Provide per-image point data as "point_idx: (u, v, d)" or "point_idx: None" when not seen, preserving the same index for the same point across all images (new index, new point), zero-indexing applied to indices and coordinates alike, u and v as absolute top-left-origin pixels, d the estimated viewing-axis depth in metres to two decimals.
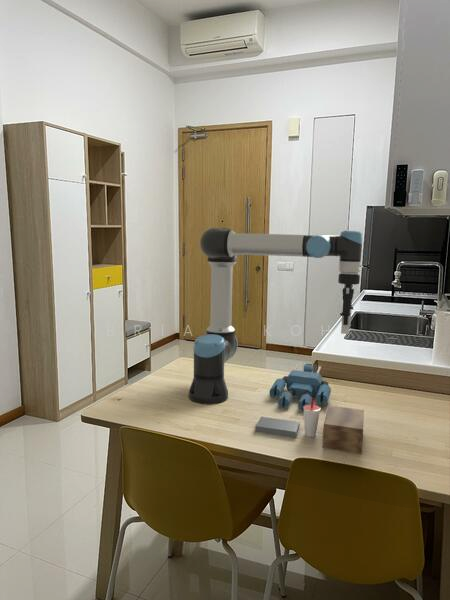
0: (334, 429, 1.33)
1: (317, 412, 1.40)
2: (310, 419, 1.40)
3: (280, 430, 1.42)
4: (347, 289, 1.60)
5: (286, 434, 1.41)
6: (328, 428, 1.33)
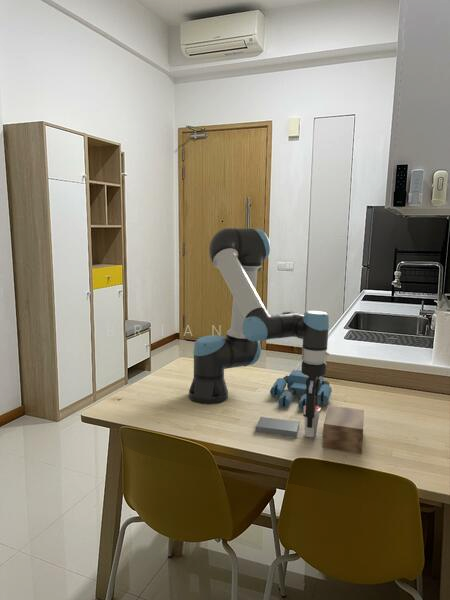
0: (334, 429, 1.33)
1: (317, 412, 1.40)
2: None
3: (280, 430, 1.42)
4: (310, 390, 1.35)
5: (286, 433, 1.42)
6: (328, 428, 1.33)
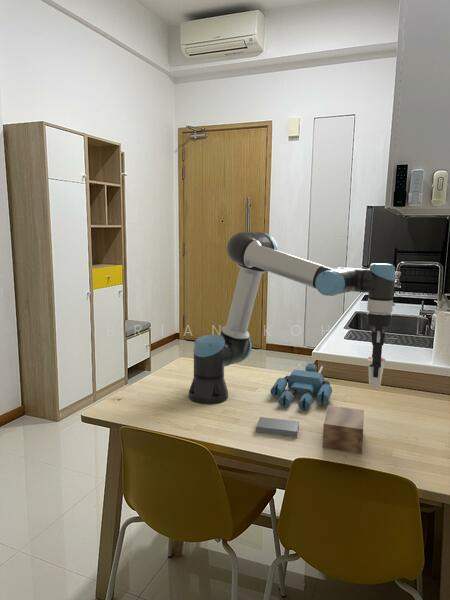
0: (334, 429, 1.33)
1: (382, 362, 1.43)
2: None
3: (281, 430, 1.42)
4: (378, 339, 1.37)
5: (287, 433, 1.42)
6: (328, 428, 1.33)
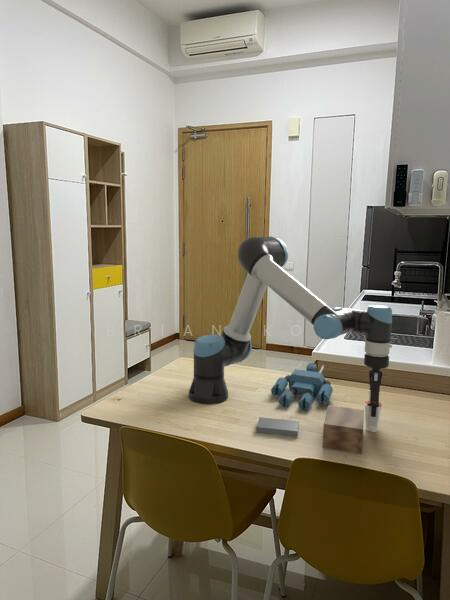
0: (334, 429, 1.33)
1: (379, 408, 1.45)
2: None
3: (281, 430, 1.42)
4: (376, 376, 1.39)
5: (287, 433, 1.42)
6: (328, 428, 1.33)
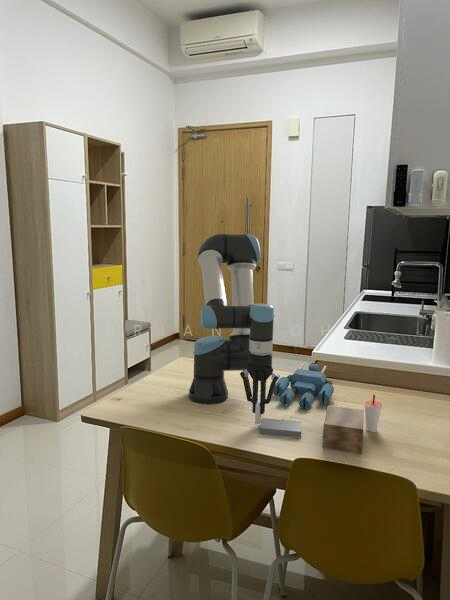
0: (334, 429, 1.33)
1: (379, 408, 1.45)
2: (372, 414, 1.45)
3: (285, 431, 1.42)
4: None
5: (291, 434, 1.41)
6: (328, 428, 1.33)
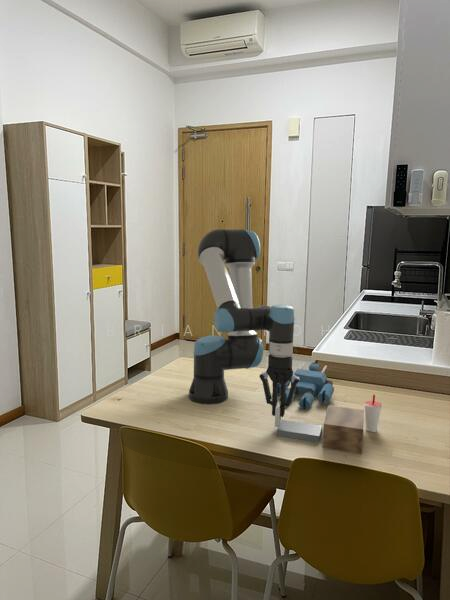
0: (334, 429, 1.33)
1: (379, 408, 1.45)
2: (372, 415, 1.45)
3: (303, 434, 1.39)
4: None
5: (309, 438, 1.38)
6: (328, 428, 1.33)
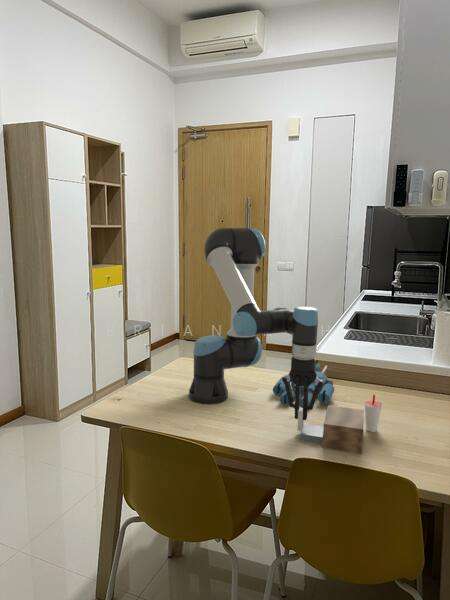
0: (334, 429, 1.33)
1: (379, 408, 1.45)
2: (372, 415, 1.45)
3: None
4: None
5: None
6: (328, 428, 1.33)
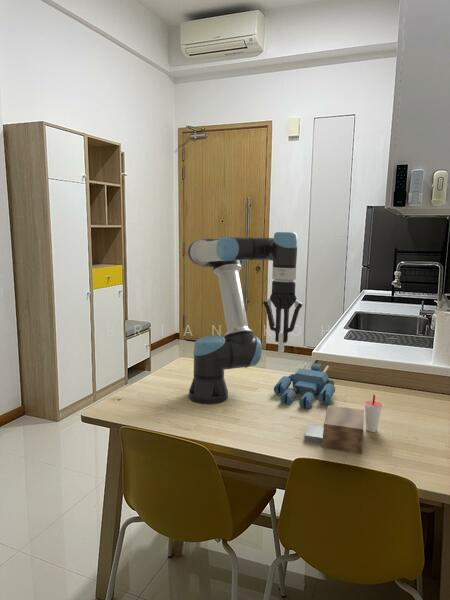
0: (334, 429, 1.33)
1: (379, 408, 1.45)
2: (372, 415, 1.45)
3: None
4: None
5: None
6: (328, 428, 1.33)
